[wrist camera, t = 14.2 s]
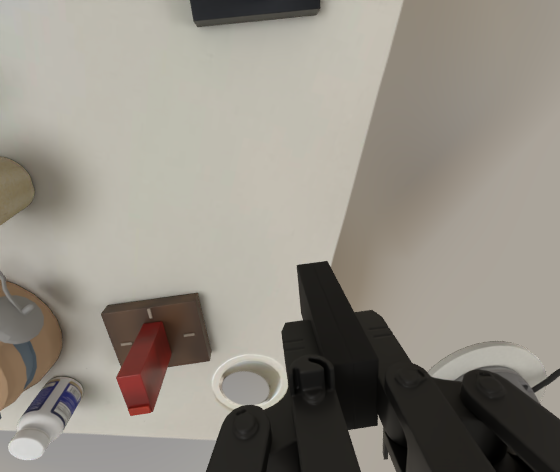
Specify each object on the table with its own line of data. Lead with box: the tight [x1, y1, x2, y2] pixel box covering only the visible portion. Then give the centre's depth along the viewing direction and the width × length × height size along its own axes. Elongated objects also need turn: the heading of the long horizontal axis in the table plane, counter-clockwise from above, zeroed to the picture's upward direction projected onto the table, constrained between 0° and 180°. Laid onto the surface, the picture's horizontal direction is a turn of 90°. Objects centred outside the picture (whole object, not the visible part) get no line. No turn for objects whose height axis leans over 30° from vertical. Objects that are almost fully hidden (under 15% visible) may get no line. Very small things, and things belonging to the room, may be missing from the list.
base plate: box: [101, 293, 211, 367], centre depth 43 cm, size 12×10×2 cm
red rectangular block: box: [116, 321, 172, 416], centre depth 38 cm, size 6×2×9 cm, turn 5°
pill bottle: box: [8, 377, 83, 460], centre depth 42 cm, size 5×5×9 cm
